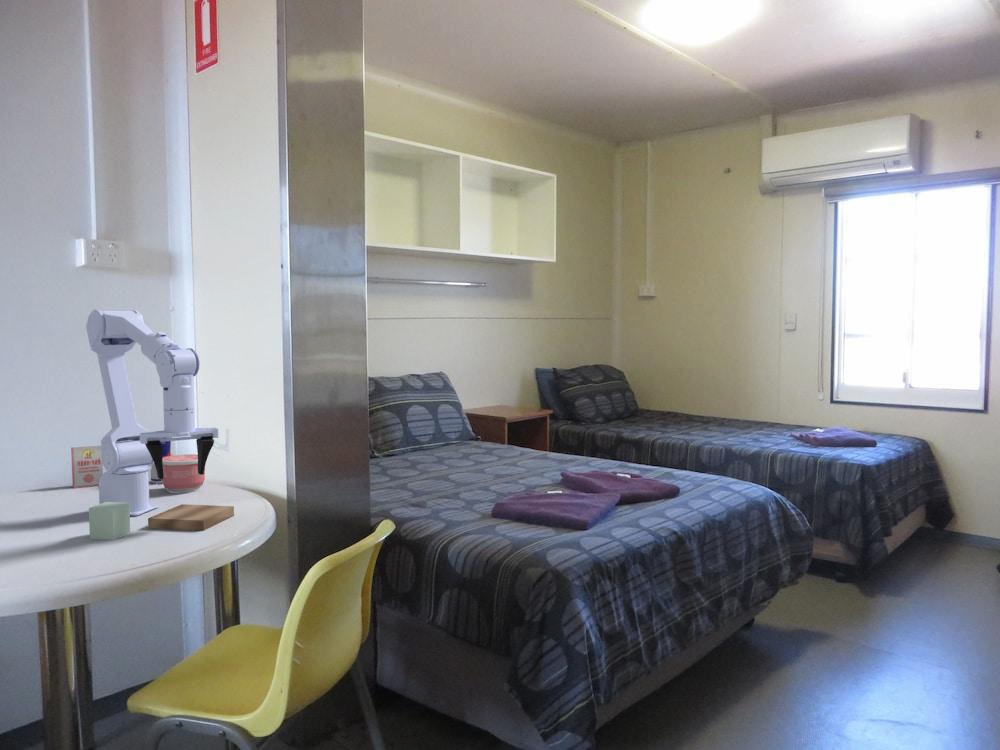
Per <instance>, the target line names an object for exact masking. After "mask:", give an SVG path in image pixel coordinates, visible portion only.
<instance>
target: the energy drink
mask: <svg viewBox="0 0 1000 750" xmlns="http://www.w3.org/2000/svg"><path fill="white" fill-rule="evenodd" d="M171 438H173V437H171ZM164 439H165V438H164ZM160 443H161V446H162V447H163V457H162V458H164V457H168V456H174V455H173V453H174V452H173V441H165V442H160ZM150 483H152V484H155V485H156V484H158V485H159V484H162V485H163V483H162V479H159V478H158V476H157V471H156V467H155V464H153V465H152V466H151V469H150Z"/></svg>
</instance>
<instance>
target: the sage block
mask: <svg viewBox="0 0 1000 750" xmlns="http://www.w3.org/2000/svg"><path fill="white" fill-rule="evenodd" d="M88 521H89V522H88V524H89V539H90V540H110V541H114V540H116V539H119V538H121V537H123V536H127V535H128V534H131V515H130V506H129V503H121V502H105V503H102V504H97V505H93V506H91V507H89V508H88Z"/></svg>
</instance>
